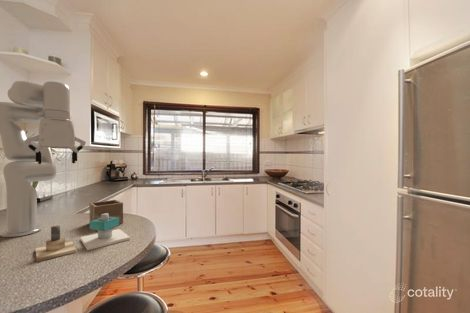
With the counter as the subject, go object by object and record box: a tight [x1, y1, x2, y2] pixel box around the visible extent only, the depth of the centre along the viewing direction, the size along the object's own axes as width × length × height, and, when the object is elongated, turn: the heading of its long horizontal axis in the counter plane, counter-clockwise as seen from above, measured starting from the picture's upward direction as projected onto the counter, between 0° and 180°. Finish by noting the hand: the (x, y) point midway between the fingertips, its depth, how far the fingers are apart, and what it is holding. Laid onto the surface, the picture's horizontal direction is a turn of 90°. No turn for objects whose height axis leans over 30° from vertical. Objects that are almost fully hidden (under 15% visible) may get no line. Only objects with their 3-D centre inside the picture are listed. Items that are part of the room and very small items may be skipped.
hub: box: [80, 213, 131, 251], centre depth 85 cm, size 14×14×10 cm
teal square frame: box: [89, 217, 120, 231], centre depth 85 cm, size 7×7×3 cm
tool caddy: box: [89, 199, 124, 225], centre depth 108 cm, size 12×12×10 cm
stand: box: [35, 225, 77, 263], centre depth 75 cm, size 12×10×8 cm
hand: (57, 163), depth 80 cm, fingers open, 9 cm apart
